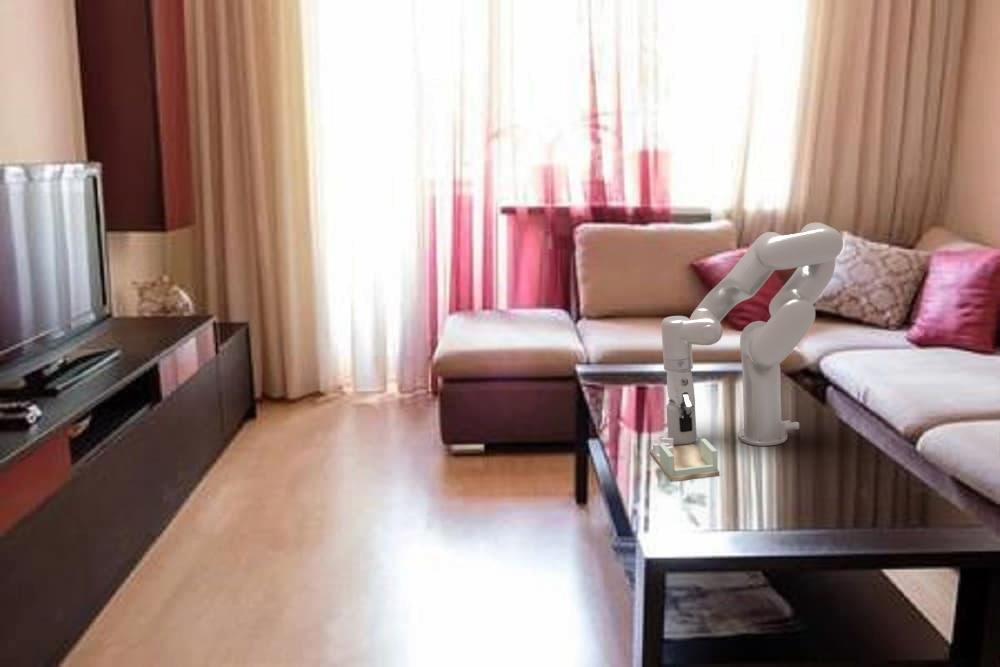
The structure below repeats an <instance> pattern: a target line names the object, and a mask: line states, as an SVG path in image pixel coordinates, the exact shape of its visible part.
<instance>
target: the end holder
mask: <svg viewBox="0 0 1000 667" xmlns="http://www.w3.org/2000/svg"><path fill="white" fill-rule="evenodd" d="M699 440H700V451H701V458H702V459H703V460H704V461H705V462H706V464H707V465H704V466H696V467H688V468H680V469H675V468H674V456H673V454H672V453H671V452H670V451H669V449H668V448H667V447H666V446H665V445H664V443H663V444H659V456H660V464H661V465H662V466H663V467H664V469H665V470H666V471H667V473H668V474H669V475H670V476H684V475H692V474H700V473H708V472H714V471H715V470H718V471H719V468H718V450H717V448H715V447H714V445H712V444H711V443H710V442H709V441H708V440H707V439H706V438H700V439H699Z"/></svg>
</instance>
